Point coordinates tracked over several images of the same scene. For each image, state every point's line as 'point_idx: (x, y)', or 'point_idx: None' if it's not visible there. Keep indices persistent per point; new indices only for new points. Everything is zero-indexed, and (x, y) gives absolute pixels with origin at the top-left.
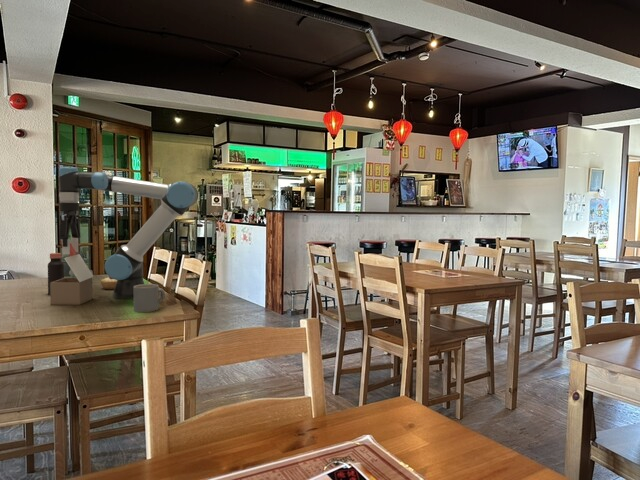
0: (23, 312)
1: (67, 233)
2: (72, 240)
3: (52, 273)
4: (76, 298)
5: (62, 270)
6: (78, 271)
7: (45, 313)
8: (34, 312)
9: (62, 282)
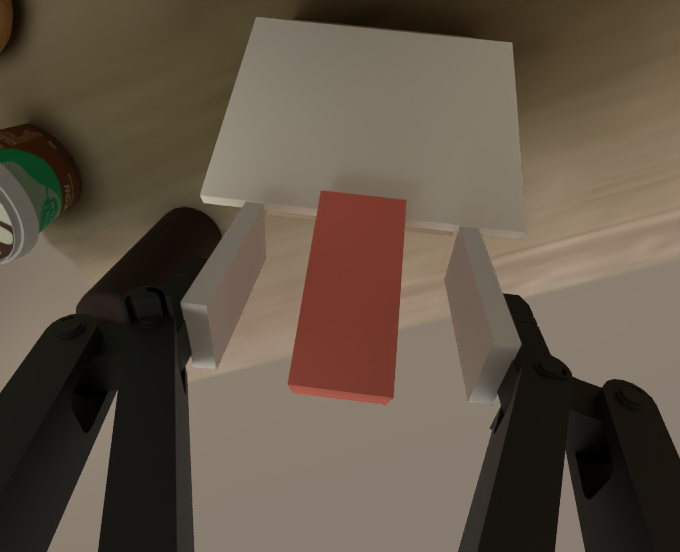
0: (577, 236)
1: (565, 439)
2: (227, 332)
3: None
4: None
5: (137, 271)
6: (446, 96)
7: (645, 145)
8: (597, 197)
9: None
